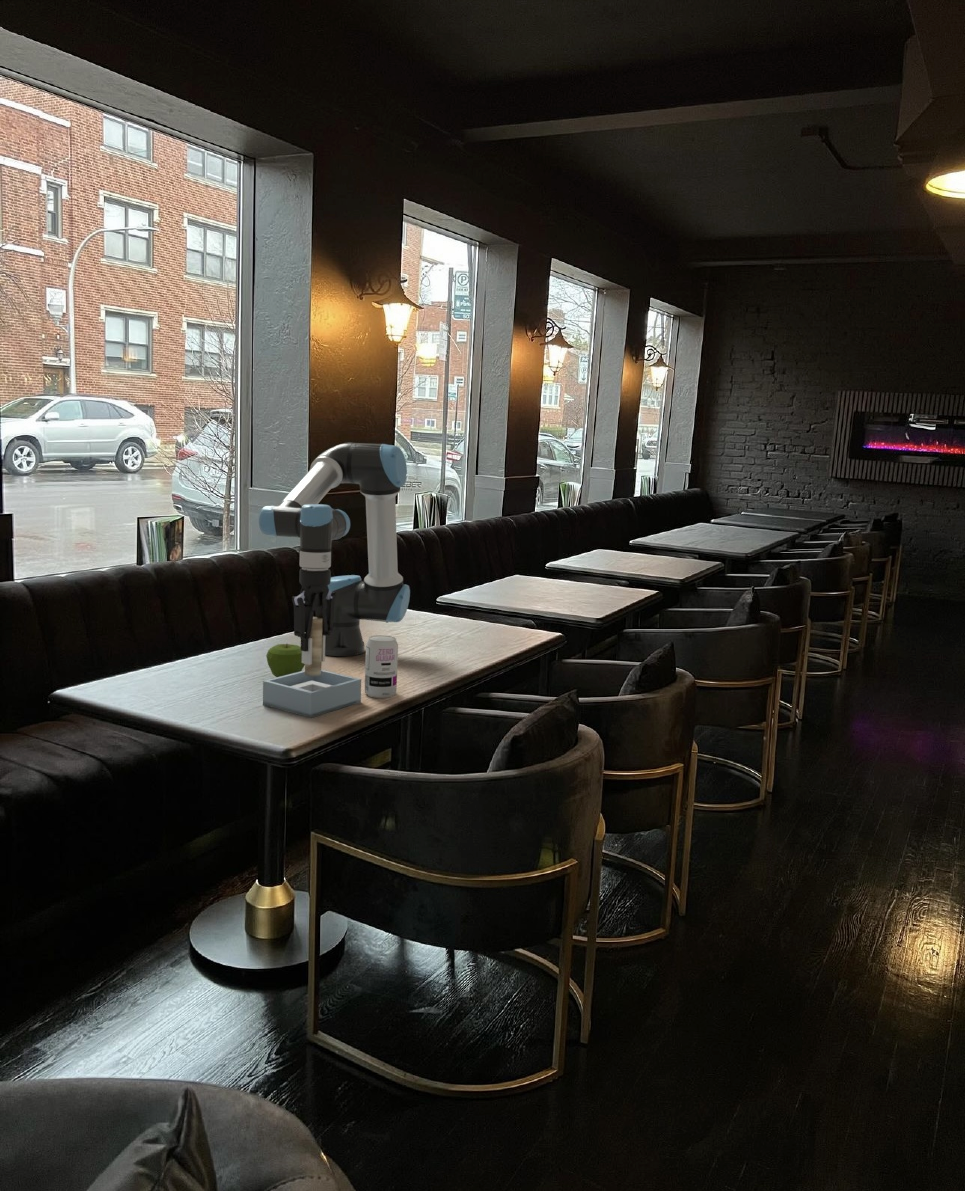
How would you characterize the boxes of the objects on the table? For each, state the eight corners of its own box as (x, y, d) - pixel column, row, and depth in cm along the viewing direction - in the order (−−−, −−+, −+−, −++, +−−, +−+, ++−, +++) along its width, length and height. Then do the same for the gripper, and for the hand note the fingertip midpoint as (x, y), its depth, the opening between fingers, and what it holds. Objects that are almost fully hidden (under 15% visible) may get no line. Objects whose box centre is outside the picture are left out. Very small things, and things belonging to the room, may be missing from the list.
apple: (259, 677, 262) (259, 641, 260) (293, 672, 268) (294, 637, 267) (278, 686, 254) (278, 649, 252) (313, 681, 260) (314, 645, 259)
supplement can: (380, 688, 257) (382, 633, 254) (402, 695, 252) (404, 638, 249) (358, 693, 250) (359, 637, 248) (380, 700, 245) (382, 643, 243)
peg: (301, 674, 238) (302, 618, 236) (312, 671, 241) (313, 616, 239) (313, 677, 236) (314, 620, 233) (324, 674, 239) (325, 618, 237)
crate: (262, 704, 237) (263, 680, 236) (313, 690, 252) (314, 668, 251) (310, 717, 228) (311, 693, 227) (360, 702, 243) (361, 679, 242)
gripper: (301, 573, 225) (300, 670, 229) (350, 567, 239) (347, 658, 243) (278, 569, 229) (277, 665, 233) (327, 563, 243) (325, 653, 247)
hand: (313, 661), depth 238 cm, fingers closed on peg, 4 cm apart
